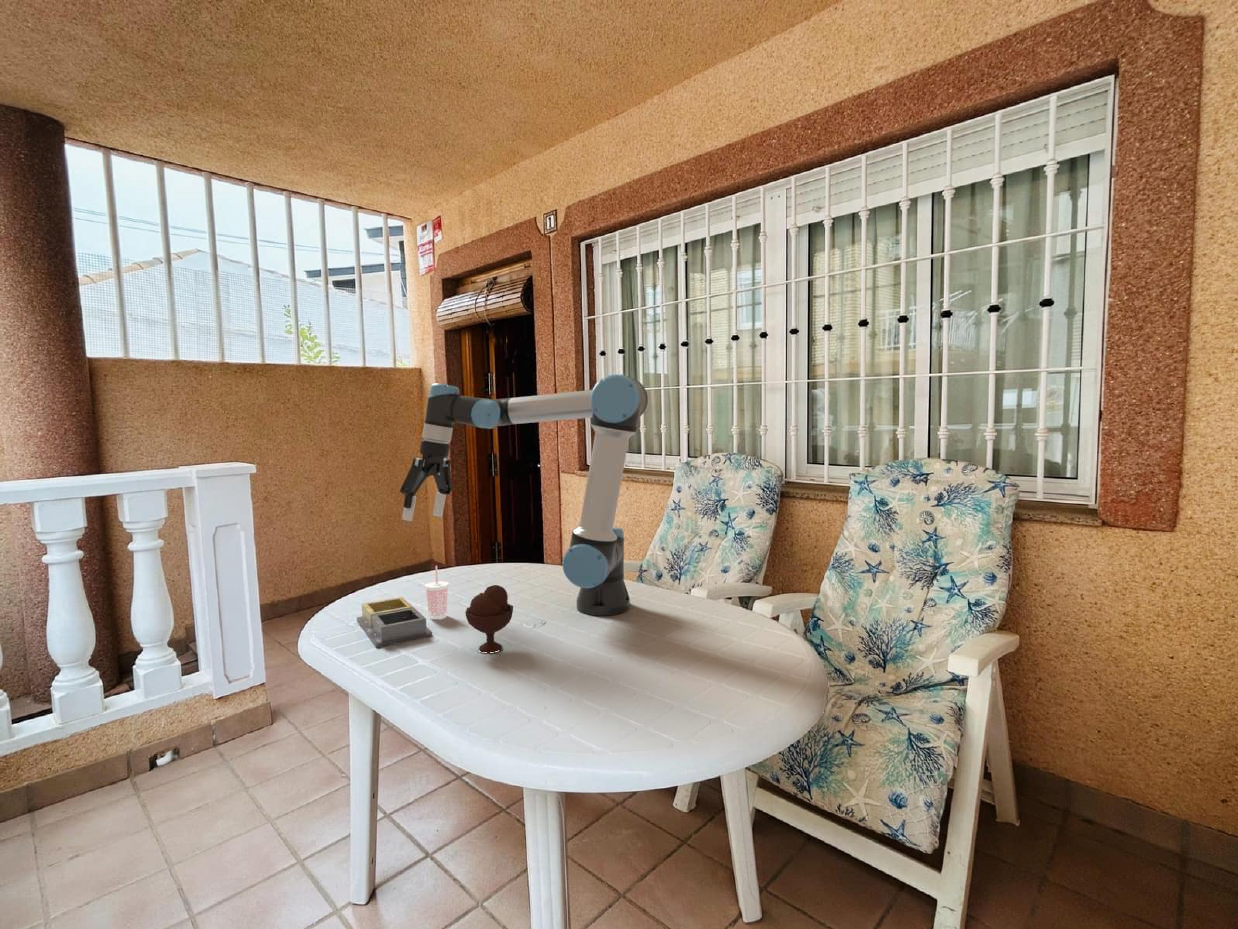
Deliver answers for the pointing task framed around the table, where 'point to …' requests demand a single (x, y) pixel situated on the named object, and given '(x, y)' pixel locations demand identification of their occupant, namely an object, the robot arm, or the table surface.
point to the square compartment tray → (392, 622)
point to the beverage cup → (437, 598)
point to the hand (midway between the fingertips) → (422, 518)
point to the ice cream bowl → (490, 615)
